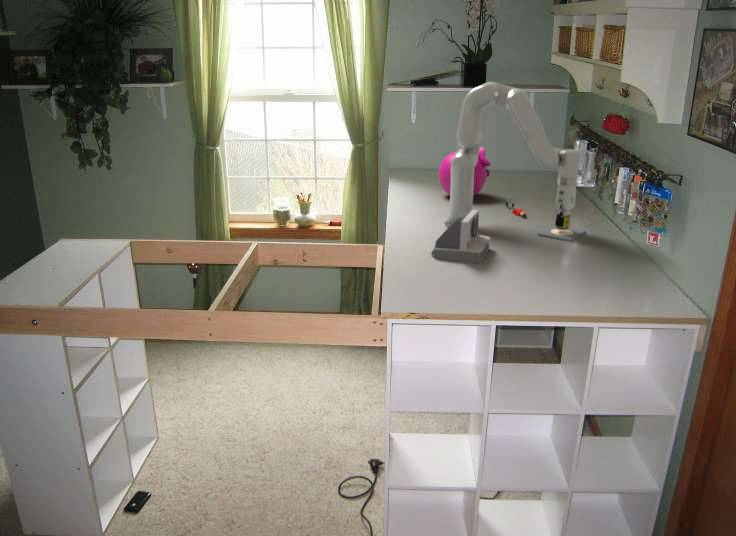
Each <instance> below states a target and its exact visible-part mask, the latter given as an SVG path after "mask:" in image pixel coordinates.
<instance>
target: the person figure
mask: <svg viewBox="0 0 736 536" xmlns="http://www.w3.org/2000/svg"><path fill="white" fill-rule="evenodd" d="M505 206H506V208H507V209H508V210H510V212H512V214H513V215H514V214H515V216H517V215H519V216H518V217H520V218H521V219H527V217H528V216H527V213H526V212H525V211H524V210H523V208H522V207H520V208H518V207H517V208H515V203H512V204H511V206H509V204H508V202H505ZM520 215H521V216H520Z"/></svg>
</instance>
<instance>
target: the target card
mask: <svg viewBox="0 0 736 536" xmlns="http://www.w3.org/2000/svg"><path fill="white" fill-rule="evenodd" d="M586 231H587V230H583V229H577V228H572V227H569V229H568V230H566V231H562V230H557V229H555V224H553V225H551V226H549V227H547V228H545V229H543V230H542V231H540V232H538V233H537V236H539V237H543V238H549V239H555V240H561V241H565V242H569V243H572V242H574V241H575V240H576V239H577V238H579V237H581V236H582V235H584V234H586Z"/></svg>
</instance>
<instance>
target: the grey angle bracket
mask: <svg viewBox="0 0 736 536" xmlns="http://www.w3.org/2000/svg"><path fill="white" fill-rule="evenodd" d="M479 218H480V210H479V209H472V211H464V212H463V213H462V214H461V215H460V216H459V217H458V218H457V219H456V220H455V221H454V222H453V223H452V224H451V225H450V226H449V227H447V229H446V230H445V231H444V232H443V233H442V234H441V235H440V236H439V237H438V238H437V240H436V241H435V243H434V244H435V245H434V247H433V250H432V251H431V253H430V254H431V255H432V257H433V258H434V259H436V260H437V259H438V260H445V261H453V262H454V261H455V262H461V263H470V264H479V263H481V261H482V260H483V259H484V257H485V256H486V254H487V253H488V252H489V250H490V241H491V237H490V236H488V235H482V234H479V221H480V220H479Z"/></svg>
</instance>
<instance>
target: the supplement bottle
mask: <svg viewBox="0 0 736 536" xmlns="http://www.w3.org/2000/svg"><path fill="white" fill-rule="evenodd" d="M561 209H562V210H563V208H561ZM560 212H561V213H562V211H560ZM570 220H571V213H570V211H569V210H568V211H565V213H564V225H563V227H558V226H555V229H557V230H562V231H566V230H568V229H569V228H570Z"/></svg>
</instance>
